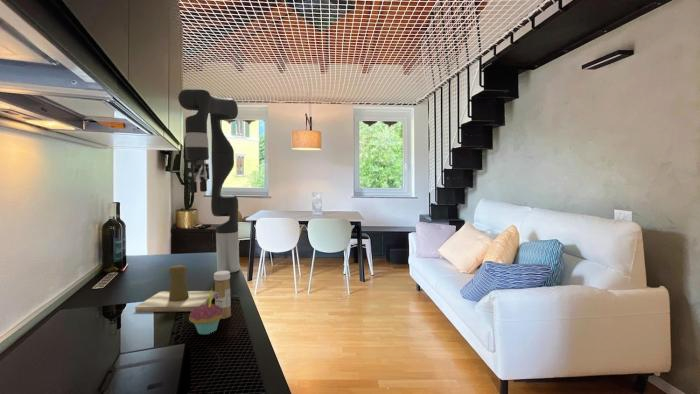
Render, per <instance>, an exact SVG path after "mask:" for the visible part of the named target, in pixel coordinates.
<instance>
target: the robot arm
mask: <svg viewBox="0 0 700 394" xmlns="http://www.w3.org/2000/svg"><path fill="white" fill-rule="evenodd" d="M177 97H178V98H177V100H178V103H179V105H180V106H181V107H182V108H183V109H185V110H187V111H197V112H196V114H193V115H190V116H186V118H185V120H184V122H185V126H184V127H185V138H184V140H185V141H184V143H185V159H186V160H187V161H190V162H185V180H186V181H188V182H189V193H190V194H193V193H195V194H196V193H198V182H197V181H198V179H199V191H200V192H204V193H205V192H207V191H208V180H209V179H210V165H209V162H205V161H208V160H209V158H210V154H209V153H210V152H209V150H210V149H209V137H208V118H209V119H210V120H209V121H210V127H211V128H210V129H211V131H210V132H211V175H212V176H211V178H212V179H211V180H212V181H211V196H210V197H211V199H210V207H211V209H210V210H211V214H212V216H213V217H229V218H228V220H227V221H225V222H223V223H221V224H217V225H216V227H215V243H216V244H215V245H216V268H217V269H216V270H217V271H216V272H218V271H229V272H230V274H232V273H235V272H238V271H240V249H239V248H240V246H239V245H240V244H239V243H240V242H239V241H240V240H239V199H238V197H237V196H236V195H234V194H223V195H221V194H222V193H221V192H222V187H223V185H224V183H225V181H226V180H227V178H228V176H229V175H230V173H231V172H232V170H233V168H234V167H235V166H234V165H235V151H234V148H233V146H232V144H231V143H230V141H229V140H228V139H227V137H226V135H225V133H224V132H223V129H222V125H221V121H232V120H235V119H236V118H238V115H239V109H238V108H239V107H238V103H237V101H235V99H233V98H230V97H227V98H226V97H225V98H224V97H223V98H222V97H218V96H215V95H212V94H211V93H210V92H209V91H208V90H207V89H205V88H186V89H185V88H183V90H181V91H180V92H179V94H178V96H177Z"/></svg>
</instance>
